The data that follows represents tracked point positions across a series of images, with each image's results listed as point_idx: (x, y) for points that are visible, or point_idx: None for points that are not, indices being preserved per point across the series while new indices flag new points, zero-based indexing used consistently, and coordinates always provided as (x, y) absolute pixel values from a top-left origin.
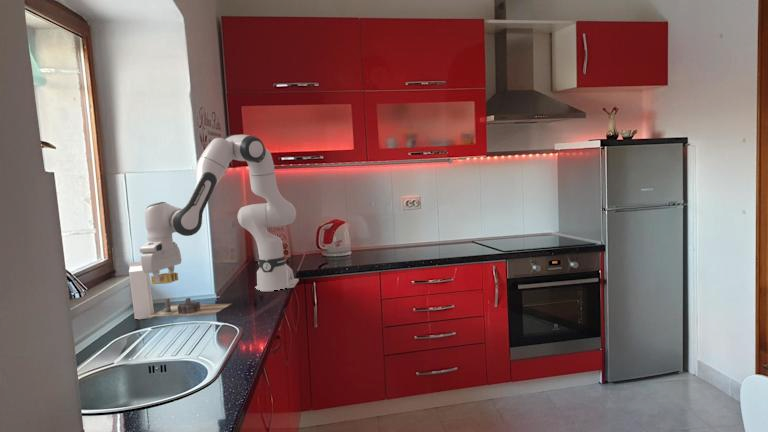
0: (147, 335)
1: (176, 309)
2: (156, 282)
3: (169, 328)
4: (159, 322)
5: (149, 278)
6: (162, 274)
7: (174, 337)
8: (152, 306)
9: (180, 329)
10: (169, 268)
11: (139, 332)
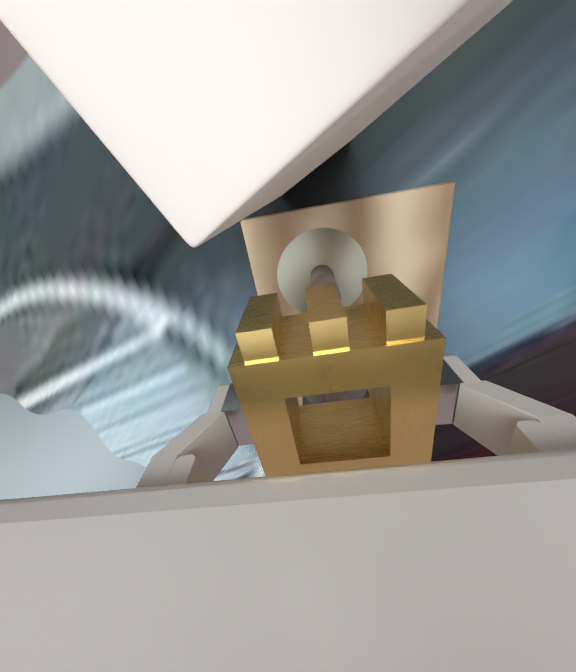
0: (113, 369)
1: (356, 290)
2: (221, 386)
3: (187, 387)
4: (228, 304)
5: (435, 65)
6: (371, 384)
7: (139, 443)
8: (336, 151)
9: (191, 421)
10: (514, 450)
11: (117, 320)
